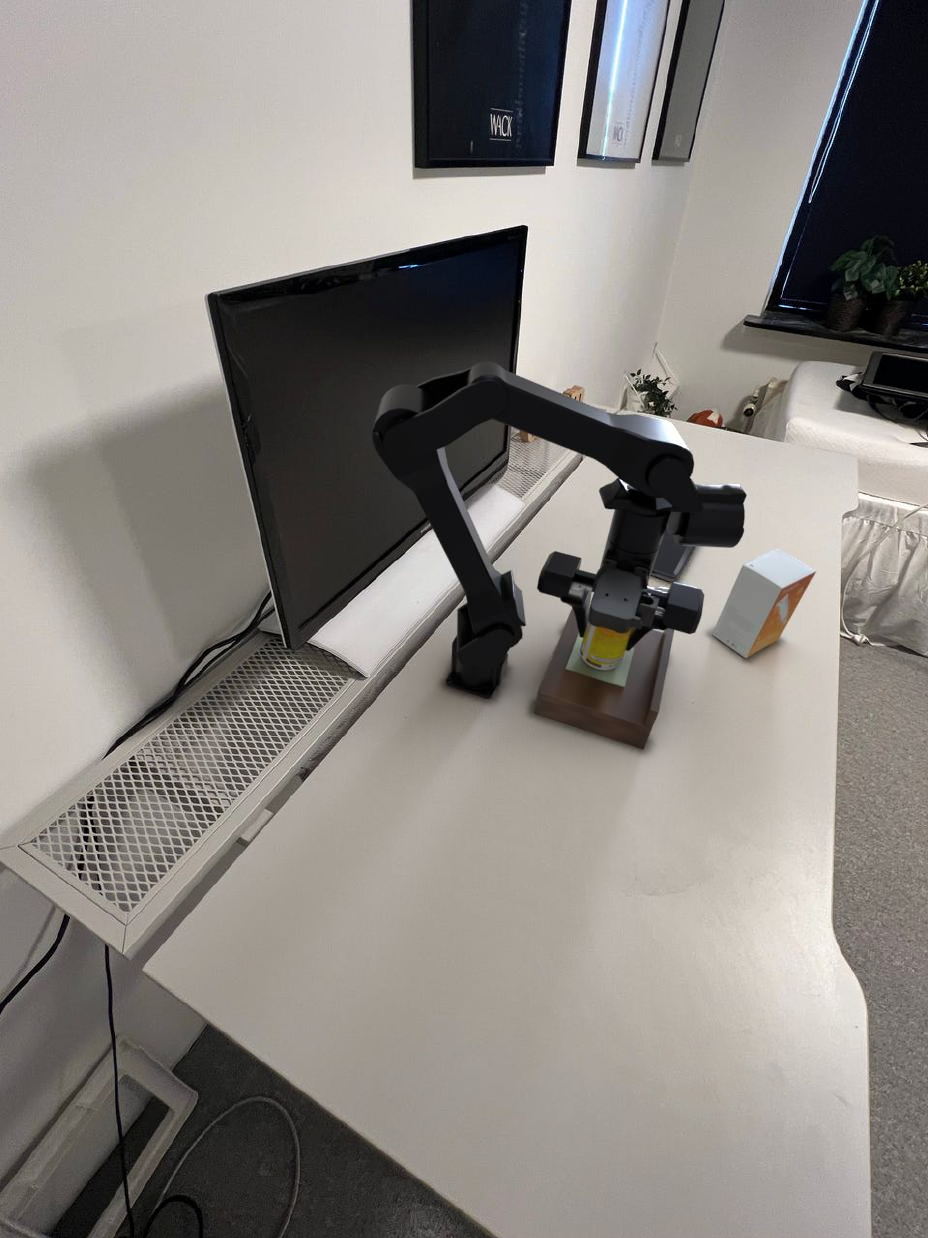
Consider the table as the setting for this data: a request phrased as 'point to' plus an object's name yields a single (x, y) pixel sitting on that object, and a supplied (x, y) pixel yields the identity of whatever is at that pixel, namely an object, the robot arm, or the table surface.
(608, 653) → the supplement bottle
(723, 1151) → the table surface
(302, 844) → the table surface
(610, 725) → the wooden coaster tray
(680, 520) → the robot arm
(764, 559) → the small box
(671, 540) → the phone
